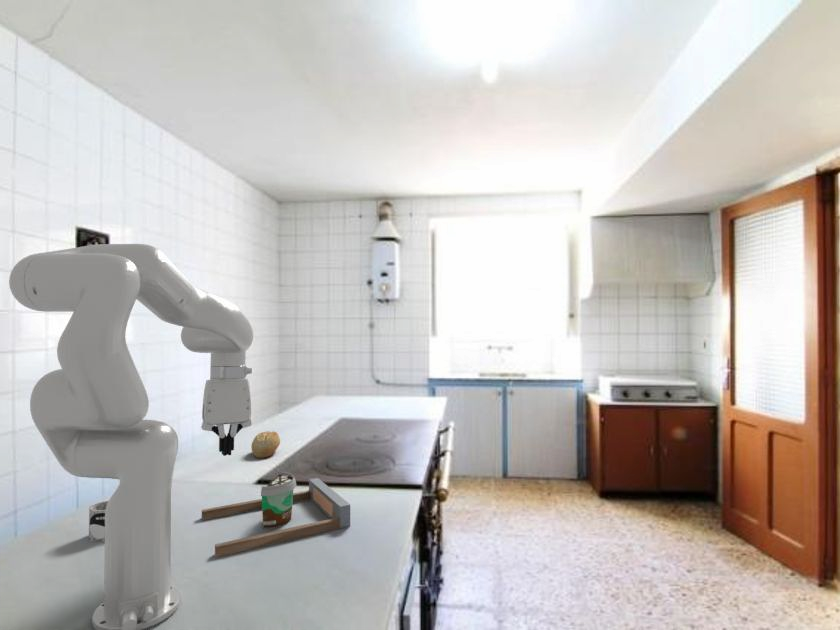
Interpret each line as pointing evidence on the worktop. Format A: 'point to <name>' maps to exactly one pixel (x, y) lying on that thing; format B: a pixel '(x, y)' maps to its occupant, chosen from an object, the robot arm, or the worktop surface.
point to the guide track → (271, 536)
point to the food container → (278, 500)
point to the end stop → (329, 502)
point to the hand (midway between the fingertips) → (226, 454)
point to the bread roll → (265, 444)
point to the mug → (97, 521)
